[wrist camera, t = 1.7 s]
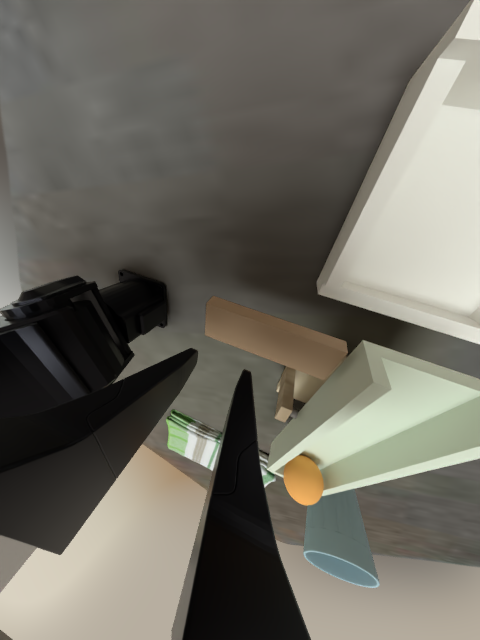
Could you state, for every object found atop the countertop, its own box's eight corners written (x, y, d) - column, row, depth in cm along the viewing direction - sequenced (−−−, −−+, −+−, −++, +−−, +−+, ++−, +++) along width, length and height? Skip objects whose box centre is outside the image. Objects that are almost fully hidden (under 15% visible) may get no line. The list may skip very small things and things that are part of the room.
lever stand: (275, 384, 24) (265, 433, 19) (297, 339, 20) (293, 385, 15) (356, 417, 23) (372, 480, 17) (400, 375, 18) (439, 443, 13)
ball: (281, 454, 22) (276, 497, 19) (292, 443, 20) (288, 489, 17) (313, 469, 22) (313, 515, 19) (329, 459, 19) (332, 510, 16)
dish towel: (257, 485, 43) (254, 505, 40) (171, 442, 46) (162, 458, 43) (282, 456, 33) (280, 479, 31) (172, 405, 37) (161, 421, 34)
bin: (316, 282, 17) (319, 304, 12) (409, 80, 10) (480, -14, 6) (464, 326, 15) (524, 370, 11) (695, 115, 8) (1085, 15, 4)
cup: (295, 453, 31) (290, 546, 22) (340, 449, 27) (357, 561, 18) (319, 479, 32) (324, 576, 24) (366, 479, 28) (393, 595, 20)
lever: (204, 411, 25) (193, 434, 23) (213, 289, 12) (189, 315, 10) (322, 465, 23) (322, 496, 21) (490, 382, 10) (539, 443, 8)
